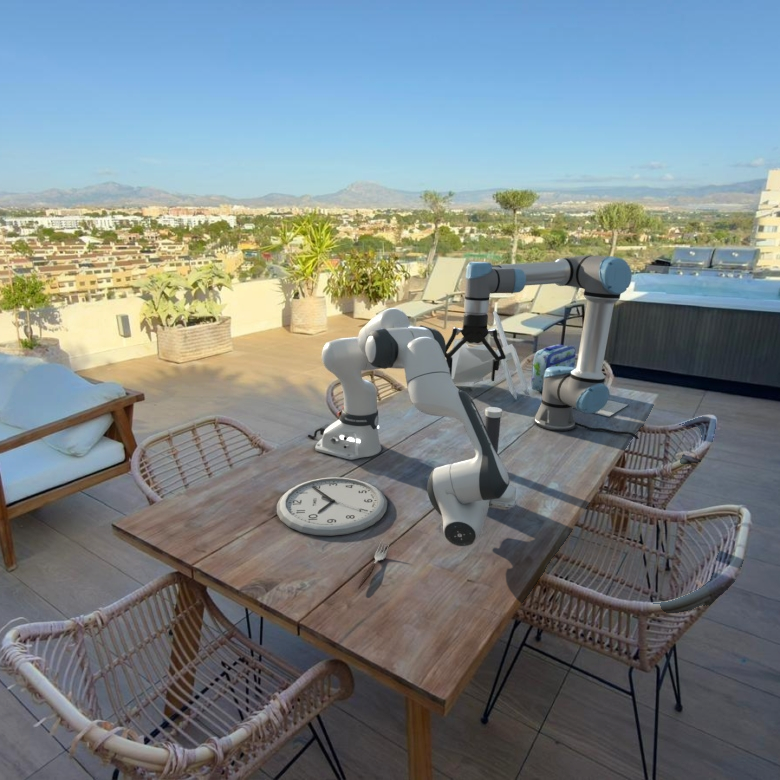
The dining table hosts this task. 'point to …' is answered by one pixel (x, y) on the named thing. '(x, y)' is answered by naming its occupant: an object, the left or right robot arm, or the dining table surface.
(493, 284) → the right robot arm
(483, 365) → the white plastic object
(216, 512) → the dining table surface
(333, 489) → the wall clock
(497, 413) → the cream round lid
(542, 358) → the lunch box
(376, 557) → the fork
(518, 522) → the dining table surface
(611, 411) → the invitation card
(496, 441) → the dark grey cylinder
